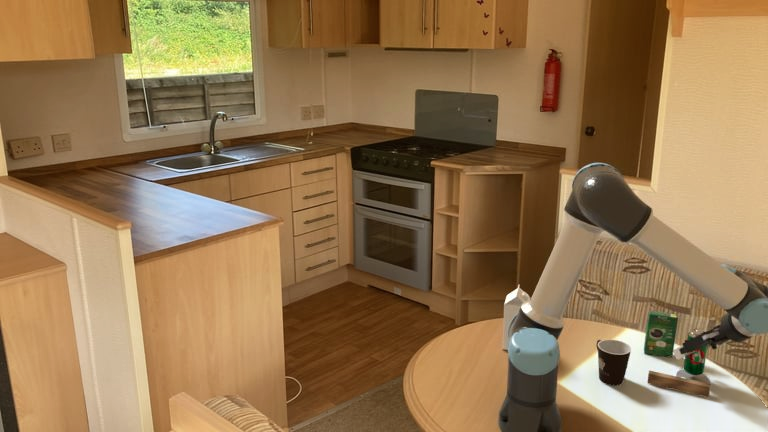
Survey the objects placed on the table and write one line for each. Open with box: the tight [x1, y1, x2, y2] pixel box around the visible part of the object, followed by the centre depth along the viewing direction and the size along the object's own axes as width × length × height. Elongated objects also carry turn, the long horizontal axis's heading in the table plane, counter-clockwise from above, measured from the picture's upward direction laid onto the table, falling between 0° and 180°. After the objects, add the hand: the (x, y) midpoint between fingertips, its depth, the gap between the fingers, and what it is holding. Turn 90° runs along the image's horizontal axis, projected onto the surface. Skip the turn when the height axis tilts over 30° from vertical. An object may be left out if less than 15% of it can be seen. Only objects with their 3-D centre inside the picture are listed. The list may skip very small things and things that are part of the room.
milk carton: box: [501, 284, 531, 351], centre depth 193 cm, size 7×7×19 cm
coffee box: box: [643, 310, 679, 358], centre depth 188 cm, size 8×3×13 cm, turn 70°
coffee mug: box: [596, 338, 632, 387], centre depth 177 cm, size 12×9×10 cm
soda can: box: [682, 328, 708, 375], centre depth 174 cm, size 5×5×12 cm
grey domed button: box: [676, 368, 710, 384], centre depth 176 cm, size 8×8×1 cm
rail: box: [647, 370, 711, 398], centre depth 171 cm, size 15×2×3 cm, turn 61°
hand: (684, 352), depth 178 cm, fingers closed on soda can, 5 cm apart
